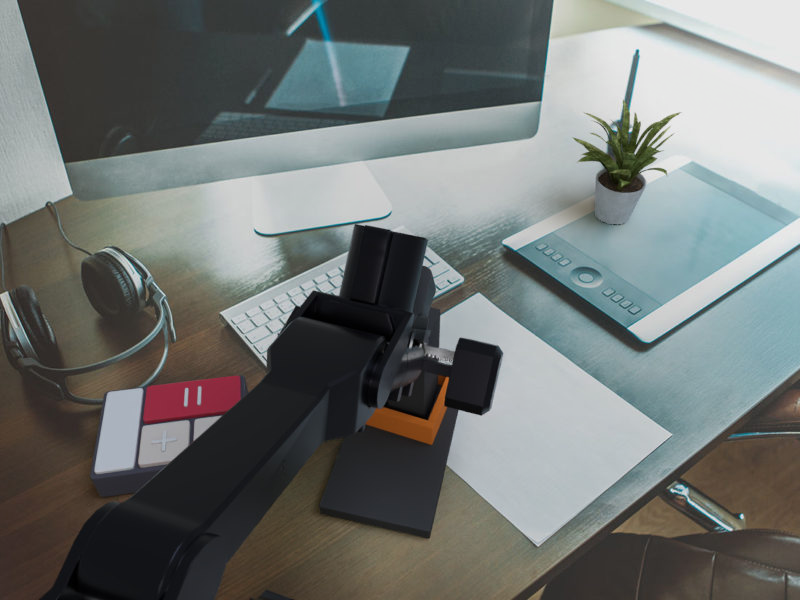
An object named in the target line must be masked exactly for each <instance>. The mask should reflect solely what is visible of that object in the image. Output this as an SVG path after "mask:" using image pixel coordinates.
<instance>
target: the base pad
mask: <svg viewBox="0 0 800 600" xmlns="http://www.w3.org/2000/svg"><path fill="white" fill-rule="evenodd" d="M448 380H449V377H445V376H441V375H438V392H437V395H436V397H435V400H434V403H433V405H432V408H431V410H430V413H429V415H428V418H427V420H425V419H421V418H418V417H415V416H411V415H408V414H405V413H402V412H398V411H395V410H392V409H388V399H387V401H386V403H385V405H384V406H383V407H382V408H381V409H377V408H376V410H375V411H374V413H373V415H372V416H371V417H370V419H369V420H368V421H367V422H366V425H365V429H364V431H363V432H362V433H358V432H356V433H355V434H353V435H351V436H347V437H343V439H342V442H341V444H340V447H339V450H338V452H337V456H336V458H335V460H334V464H333V466H332V469H331V472H330V473H329V474H330V475H329V478H328V480H327V483H326V485H325V488H324V491H323V494H322V496H321V499H320V502H319V505H318V509H319V513H320V515H323V516H329V517H333V518H337V519H342V520H346V521H350V522H354V523H359V524H363V525H367V526H372V527H377V528H381V529H386V530H390V531H394V532H398V533H403V534H407V535H411V536H416V537H421V538H425V539H430V538H431V535H432V531H433V526H434V522H435V516H436V514H437V507H438V503H439V499H440V495H441V491H442V485H443V482H444V477H445V472H446V468H447V463H448V458H449V455H450V450H451V445H452V441H453V436H454V432H455V427H456V423H457V420H458V415H459V410H457V409H453V408H449V407H445V406H444V403H445V394H446V389H447V385H448Z"/></svg>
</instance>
